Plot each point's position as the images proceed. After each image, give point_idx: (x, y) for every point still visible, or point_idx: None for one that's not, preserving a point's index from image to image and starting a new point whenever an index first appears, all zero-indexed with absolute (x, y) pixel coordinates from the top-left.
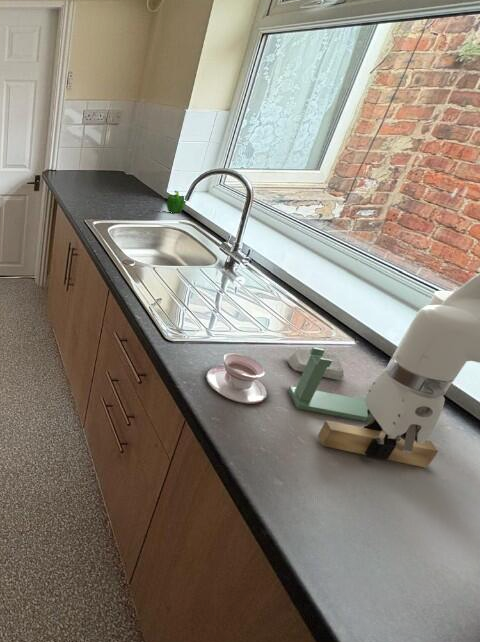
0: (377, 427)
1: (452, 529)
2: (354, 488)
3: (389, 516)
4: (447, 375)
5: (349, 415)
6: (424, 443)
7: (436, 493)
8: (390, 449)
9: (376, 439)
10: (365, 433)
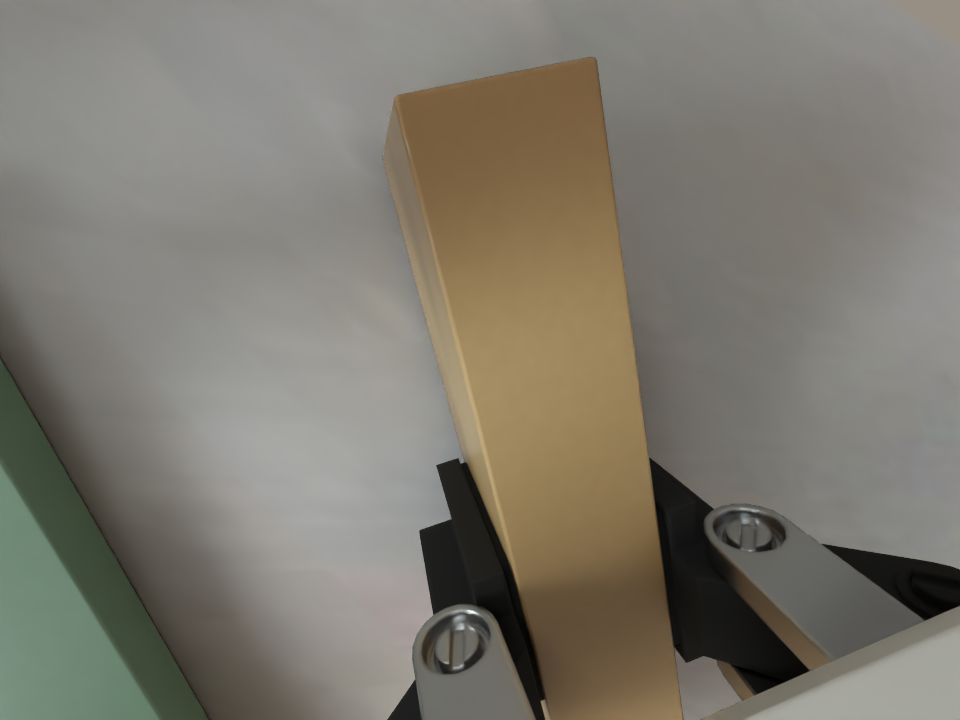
0: (536, 686)
1: (955, 148)
2: (830, 542)
3: (943, 420)
4: None
5: (122, 627)
6: (507, 202)
7: (722, 141)
8: (707, 511)
9: (690, 645)
10: (638, 714)
